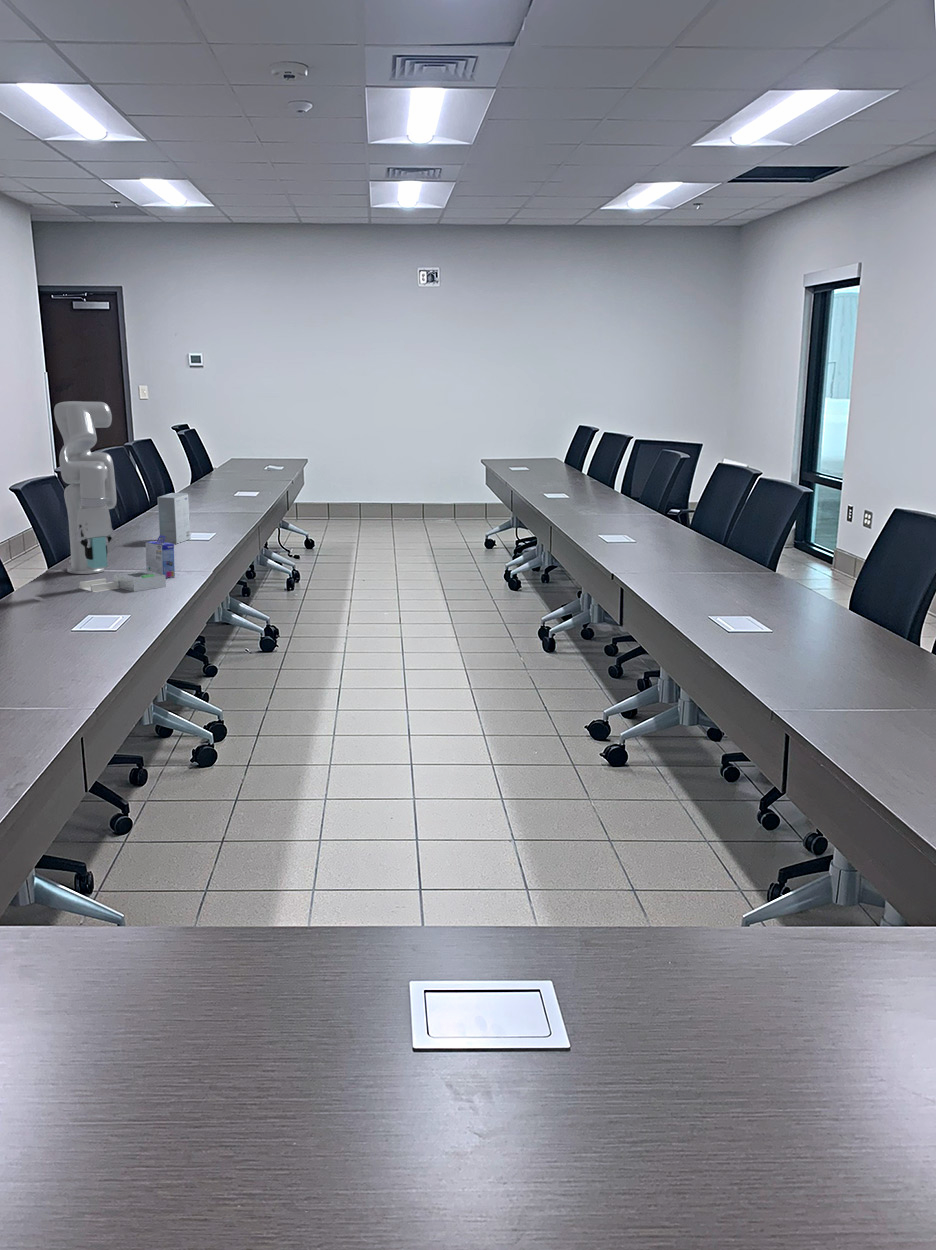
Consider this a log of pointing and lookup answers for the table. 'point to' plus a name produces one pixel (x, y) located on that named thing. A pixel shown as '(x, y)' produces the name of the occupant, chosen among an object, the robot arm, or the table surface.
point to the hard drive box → (174, 517)
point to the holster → (98, 585)
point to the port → (140, 580)
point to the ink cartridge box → (160, 557)
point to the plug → (98, 553)
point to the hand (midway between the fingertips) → (96, 557)
